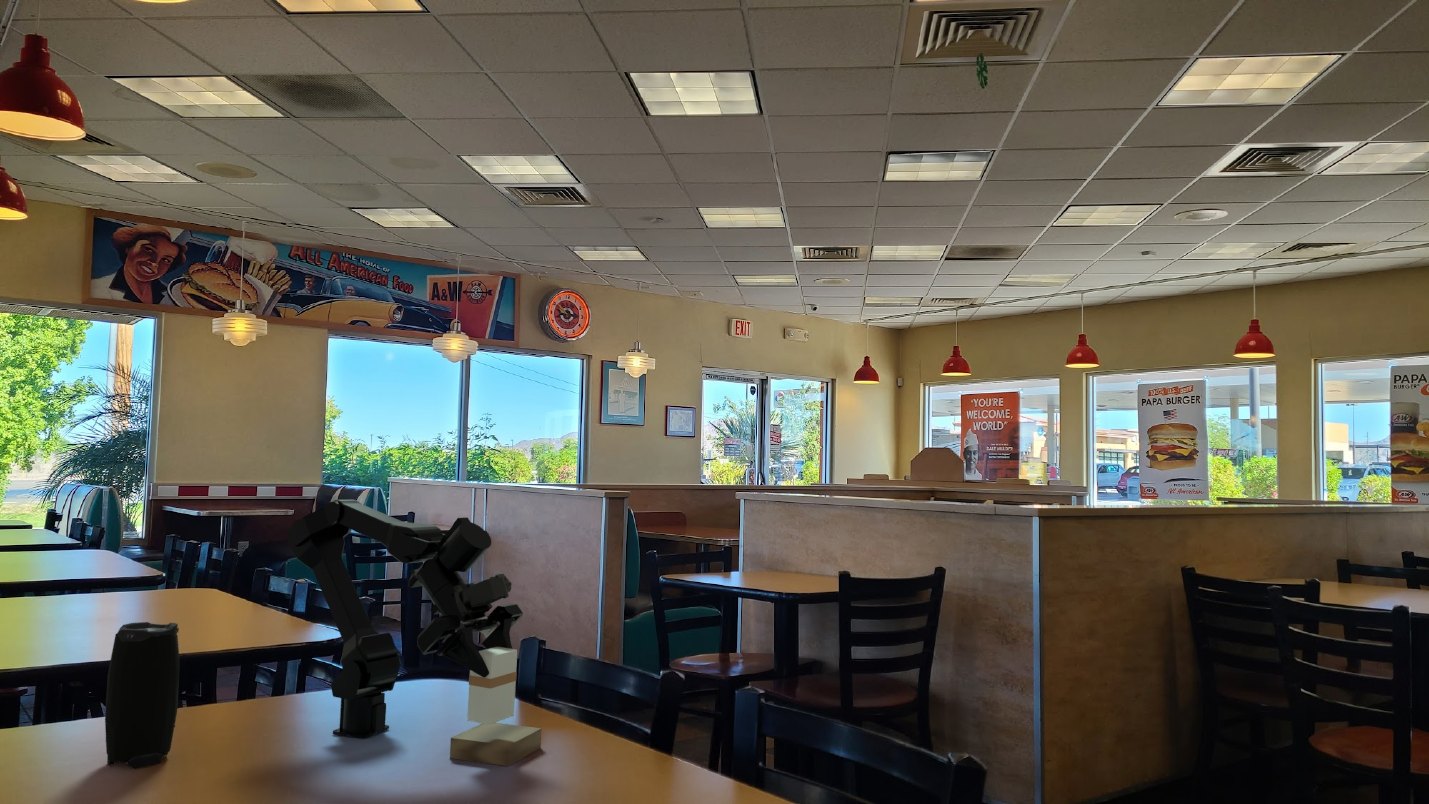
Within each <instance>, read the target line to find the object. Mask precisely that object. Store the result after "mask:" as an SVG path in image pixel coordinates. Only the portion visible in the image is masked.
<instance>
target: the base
mask: <svg viewBox="0 0 1429 804" xmlns="http://www.w3.org/2000/svg"><path fill="white" fill-rule="evenodd" d="M449 745H450V746H449V747H450V749H449V759H455V760H462V761H467V762H468V761H469V762H477V763H483V764H490V765H496V766H497V765H498V766H504V767H509V766H511V765H512V764H514V763H516V762H518V761H520V760H521V759H523V758H525V757H527V756H528V755H530V754H532V753H534V752H536V751H538V750H540V749H541V747H542V728H541V727H533V726H532V727H531V726H524V725H516V724H508V723H501V722H495V723H492V724H489V725H486V724H481V723H479V725H476V726H473V727H472V728H470V729H467V730H465V731H464V730H463V732H460V733H458V734H456V735H453V736H451V737H450V744H449Z"/></svg>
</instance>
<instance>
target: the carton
mask: <svg viewBox="0 0 1429 804" xmlns="http://www.w3.org/2000/svg"><path fill="white" fill-rule="evenodd" d="M478 651H479V653H480V655H481V656H482V658H483V660H484V662H485V664H486V666H487V668H488V671H489V674H488V676H487V677H482V676H480V675H478V674H476V673H475V672H473V671H471V670H470V669H469V676H468V685H469V686H468V700H467V714H466V715H467V722H471V723H472V722H473V723H476V724H477V723H478V724H486V725H489V724H492V723H499V722H501V721H503V720H506V719H509V718H511V717H514V716H515V703H516V702H515V701H516V684H517V683H516V682H517V673H518V672H517V666H518V665H517V661H518V649H515V648H512V649H509V648H502V647H493V648H489V649H486V648H485V649H482V650H478Z"/></svg>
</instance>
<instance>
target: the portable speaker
mask: <svg viewBox="0 0 1429 804" xmlns="http://www.w3.org/2000/svg"><path fill="white" fill-rule="evenodd" d="M178 624H179V623H176V622H169V623H168V624H165V623H164V624H163V623H162V624H160V623H151V622H148V621H143V622H140V621H139V622H129V623H125V624H122V626H121V627H119V629H118V631H117V633H115V635H114V636H115V637H114V640H113V645H112V646H113V647H112V650H111V655H110V661H109V666H108V670H107V671H108V672H107V683H106V696H105V697H106V698H105V715H104V724H105V726H104V727H105V748H106V754H107V756H106V757H107V760H106V763H107V766H109V767H111V766H114V765H115V763H122V764H127V765H128V767H130V768H131V769H134V770H136V769H140V768H146V767H149V766H150V767H151V766H153V765H158V764H160V763H161V762H162V760H164V757H165V756H167V755H168V754H169V752H170V751H171V748H172V742H173V737H174V731H175V728H176V720H177V713H178V708H179V705H178V703H179V685H180V684H179V683H180V666H181V662H180V651H179V650H180V649H179V637H178V633H179V631H180V630H179V629H180V627H178Z"/></svg>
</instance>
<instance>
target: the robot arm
mask: <svg viewBox="0 0 1429 804" xmlns="http://www.w3.org/2000/svg"><path fill="white" fill-rule="evenodd" d="M453 522H454V523H452V526H451V527H450V529H448V531H447V532H446V533H443V531H442V530H441V528H440V527H438V526H436V525H432V524H431V525H430V524H427V523H418V522H417V523H416V522H407V521H402V520H400V519H397V518H395V517H392V516H390V515H388V514H386V513H384V512H381V511H379V510H376V509H374V508H373V507H369V506H367V505H365V504H362V502H360V501H359V500H356V499H334V500H332V501H330V502H328V503H327V504H326V505H325V506H323V507H322V508H320V509H317V510H315V511H313V512H311V513H309V514H306V515H304V516H302V517H301V518H298V519H296V520H295V521H293V523H292V524H291V525H290V528H289V529H288V531H287V533H286V534H287V536H286V537H287V543H288V545H289V547H290V549H291V550H292V553H293V554H294V556H295V557H296V559H297V560H298V561H299V562H301V563H302V564H303V565H305V566H306V567H307V568H309V569H310V570H311V571H312V572H313V574H314V576H315V579H316V581H317V584H318V585H319V586H318V587H320V590H321V592H322V594H323V597H324V600H325V602H326V605H327V606H328V609H329V611H330V613H331V615H332V616H331V617H332V618H333V621H334V623H335V626H336V627H337V630H338V632H339V635H340V637H341V639H342V642H343V648H342V652H341V653H342V654H341V657H340V662H341V666H342V670H341V671H340V672H339V674H338V675H337V676H336V677H335V678H334V679H333V680H332V682H331V683H330V688H331V693H332V697H333V698H339V699H340V711H339V712H340V713H339V727H338V728H336V729H333V730H332V735H339V736H345V737H352V738H353V737H354V738H360V739H364V738H369V737H372V736H374V735H377V734H378V733H381V732H385V731H386V730H388V729H390V725H388V724H386V718H387V716H386V715H387V703H386V702H385V701H386V699H385V696H386V694H385V693H386V692H390V691H393V689H394V687H395V684H396V681H397V677H398V675H399V671H400V668H401V665H402V664H401V659H400V656H399V654H400V653H401V651H400V650H399V649H398V648H397V646H396V644H395V642H394V638H393V636H392V634H391V633H390V632H383V633H379V632H378V631H376V630H375V629H374V627H373V626H372V623H371V621H370V618H369V616H368V614H367V612H366V609H365V606H364V605H363V603H362V600H361V598H360V596H359V593H358V592H357V589H356V587H355V585H354V583H353V582H354V581H353V580H352V578H351V576H350V573H349V571H348V569H347V566H346V565H345V562H344V560H343V553H344V549H345V544H346V542H345V537H346V536H348V535H349V534H350V533H351V532H352V531H354V532H356V533H357V534H360V535H362V536H364V537H367V538H369V539H371V540H373V541H375V542H377V543H378V542H379V543H380V544H382V545H383V546H384V547H385V548H386V551H387V553H388V554H390V556H392V557H393V558H395V559H396V560H397V561H399V562H400V563H402V564H413V563H414V564H415V563H422V564H421V565H420V567H419V568H416V569H412V570H411V571H410V572H411V573H410V578H409V580H408V588H411V589H412V588H417V587H422V588H423V589H424V591H425V593H426V594H427V595H428V597H429V599H430V600H431V602H432V603H433V606H432V608H430V611H431V613H432V615H433V616H434V615H440V616H435V617H433V619H432V620H431V621H430V622H429V623H428V625H426V627H425V628H424V629H423V630H422V631H421V632H420V633H419V635H417V641H416V643H417V645H416V646H417V647H418V648H419V649H418V650H419V651H420V652H421V654H422V655H423V656H425V655H429V654H434V653H436V652H437V656H439V657H445V658H446V659H448V660H451V661H453V662H455V663H456V664H459V665H461V666H463V667H464V668H466V669H468V670H469V671H470V670H471V671H473V672H475V673H476V674H478V675H480V676H482V677H487V676H488V674H489V671H488V668H487V666H486V664H485V662H484V660H483V658H482V656H481V655H480V653H479V651H480V650H479V649H478V648H477V645H476V643H475V642H474V636H473V634H474V633H478V632H480V633H482V635H483V637H485V639H484V640H483V641H482V642H481V645H482V646H483V647H484V648H485V649H489V648H493V647H502V648H509V649H513V646H512V645H513V644H512V640H511V633H510V631H511V628H512V627H513V626H514V625H515V624H516V623H518V621H519V620H520V619H521V618H522V617H523V615H524V612H523V611H522V609H521V608H520V607H519V605H518V604H517V603H506V604H499V605H497V606H496V607H495V608H494V609H493V610H492V611H491V612H490V613H489V614H488V616H486V612H489V611H490V610H491V609H492V608H493V605H492V604H493V603H495V602H498V601H499V600H501V599H507V598H509V597H510V595H509V593H510V592H511V590H512V582H511V581H510V580H509V578H507V576H506V575H505V574H504V573H496V574H495V576H490V577H489V578H487V579H484V580H481V581H479V582H477V583H474V582H471V583H467V582H466V581H465V580H464V578H463V577H462V575H461V574H460V573H466V572H469V571H470V569H472V568H473V566H474V565H475V564H476V563H477V562H478V561H479V560H480V558H482V556H483V555H484V554H485V553H486V552H487V551H488V549H489V548H490V547H491V546H492V538H491V536H490V534H489V531H487V530H485V529H484V528H482V527H481V526H480V525H478V524H476V523H475V522H474V523H473V522H471V521H470V519H469V517H467V516H466V517H465V516H464V517H457V518H456V519H455V521H453ZM438 641H439V642H440V643H438ZM439 645H441V648H440V649H439Z"/></svg>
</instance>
